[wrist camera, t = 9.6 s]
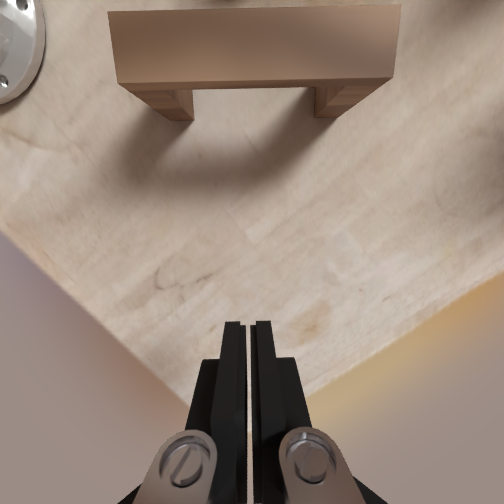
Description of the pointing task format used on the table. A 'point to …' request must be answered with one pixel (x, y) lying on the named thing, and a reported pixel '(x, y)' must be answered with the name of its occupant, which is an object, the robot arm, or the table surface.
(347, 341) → the table surface
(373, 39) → the bridge
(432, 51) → the table surface
